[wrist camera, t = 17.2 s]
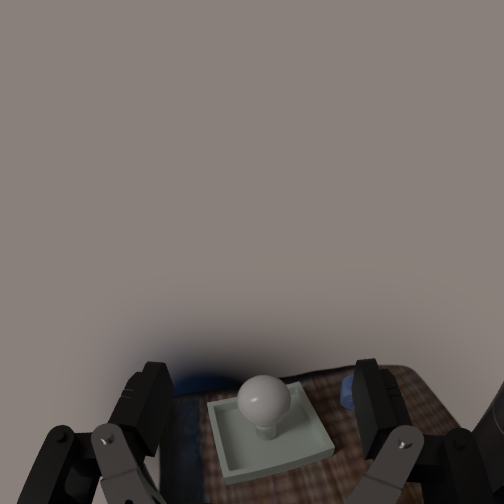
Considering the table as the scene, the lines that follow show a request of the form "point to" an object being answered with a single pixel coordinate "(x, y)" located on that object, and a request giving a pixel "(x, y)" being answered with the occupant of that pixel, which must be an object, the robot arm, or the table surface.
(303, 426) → the parts tray
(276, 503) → the table surface
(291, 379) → the table surface
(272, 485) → the table surface
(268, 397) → the lightbulb
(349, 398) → the decorative dice
